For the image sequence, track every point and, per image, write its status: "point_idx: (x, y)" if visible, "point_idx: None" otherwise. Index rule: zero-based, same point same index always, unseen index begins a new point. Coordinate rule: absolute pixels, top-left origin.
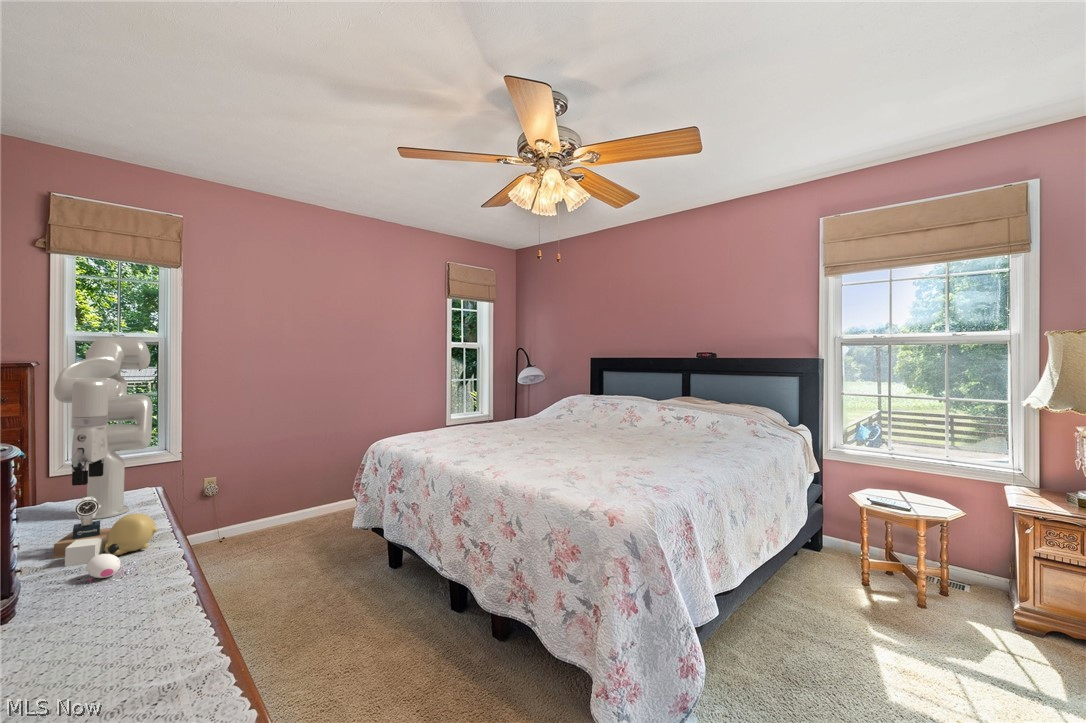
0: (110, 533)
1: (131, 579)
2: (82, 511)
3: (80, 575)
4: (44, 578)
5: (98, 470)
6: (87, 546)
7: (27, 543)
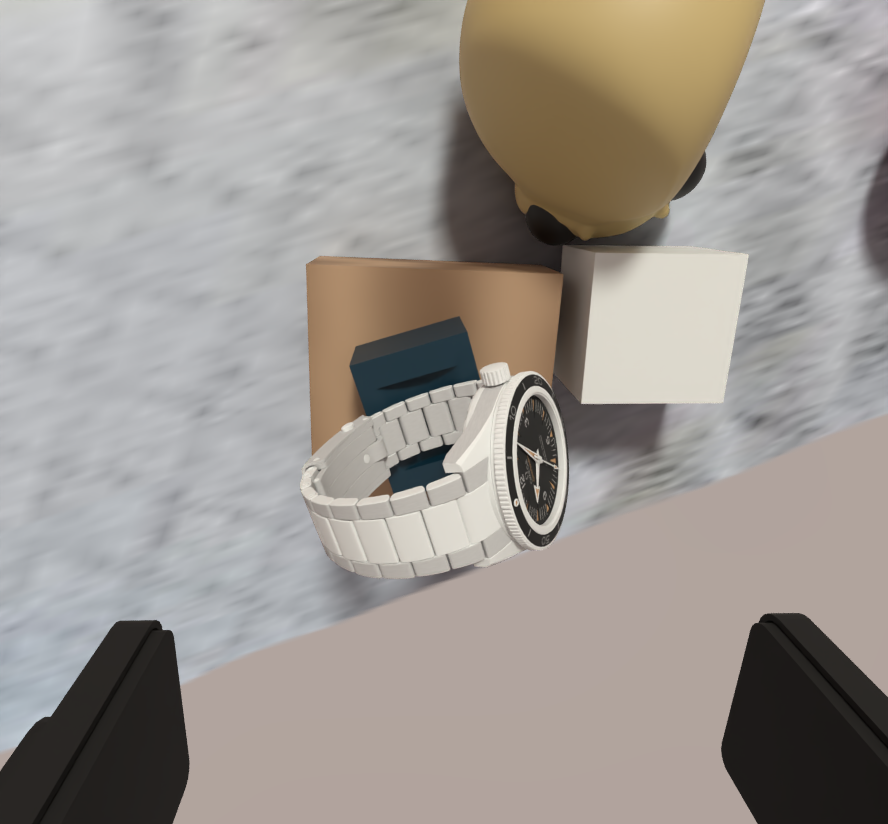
0: (671, 199)
1: None
2: (550, 473)
3: (857, 251)
4: (798, 398)
5: (129, 766)
6: (737, 295)
7: (217, 661)
